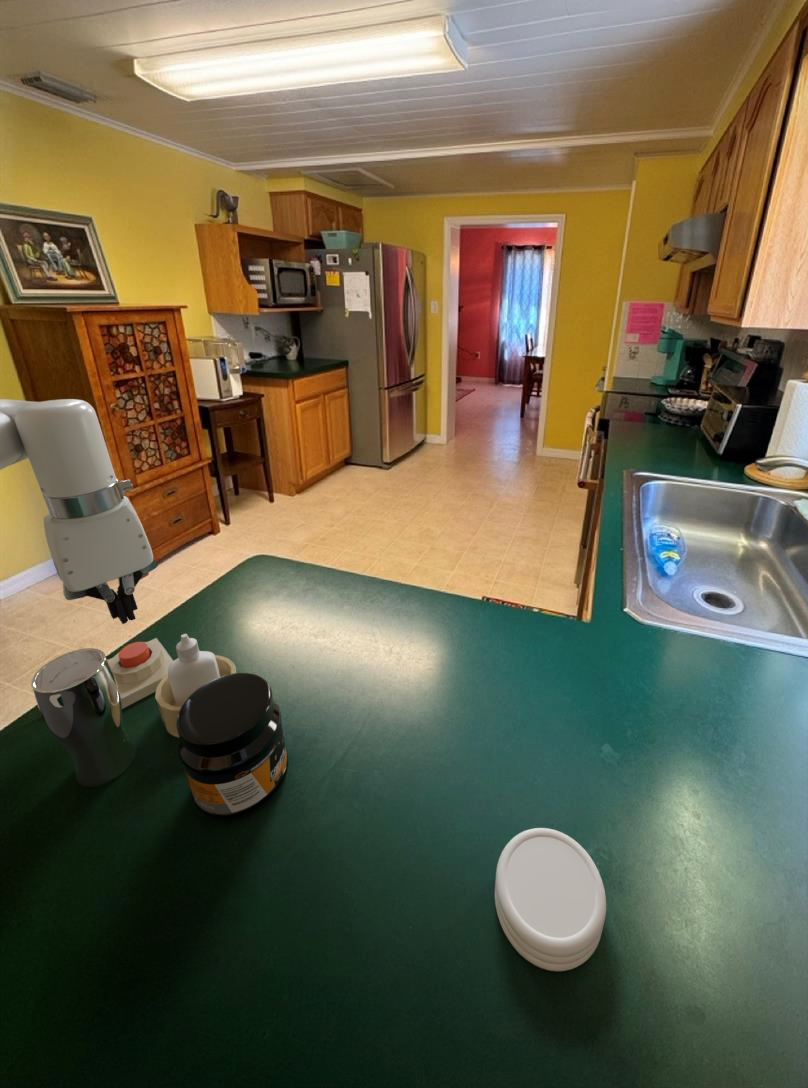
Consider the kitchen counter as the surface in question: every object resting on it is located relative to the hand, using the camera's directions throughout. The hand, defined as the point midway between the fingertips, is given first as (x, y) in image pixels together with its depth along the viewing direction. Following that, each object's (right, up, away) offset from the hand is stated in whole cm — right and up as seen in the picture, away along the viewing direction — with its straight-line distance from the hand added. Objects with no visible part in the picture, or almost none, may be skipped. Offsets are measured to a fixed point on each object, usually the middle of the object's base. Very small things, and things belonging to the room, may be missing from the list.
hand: (126, 617), depth 66 cm
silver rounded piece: (+4, -16, -9) cm, 18 cm away
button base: (-1, -10, +4) cm, 11 cm away
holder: (+12, -12, -1) cm, 17 cm away
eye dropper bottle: (+12, -12, -2) cm, 17 cm away
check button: (-1, -7, +3) cm, 8 cm away
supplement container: (+21, -16, -11) cm, 29 cm away
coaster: (+55, -21, -22) cm, 63 cm away
